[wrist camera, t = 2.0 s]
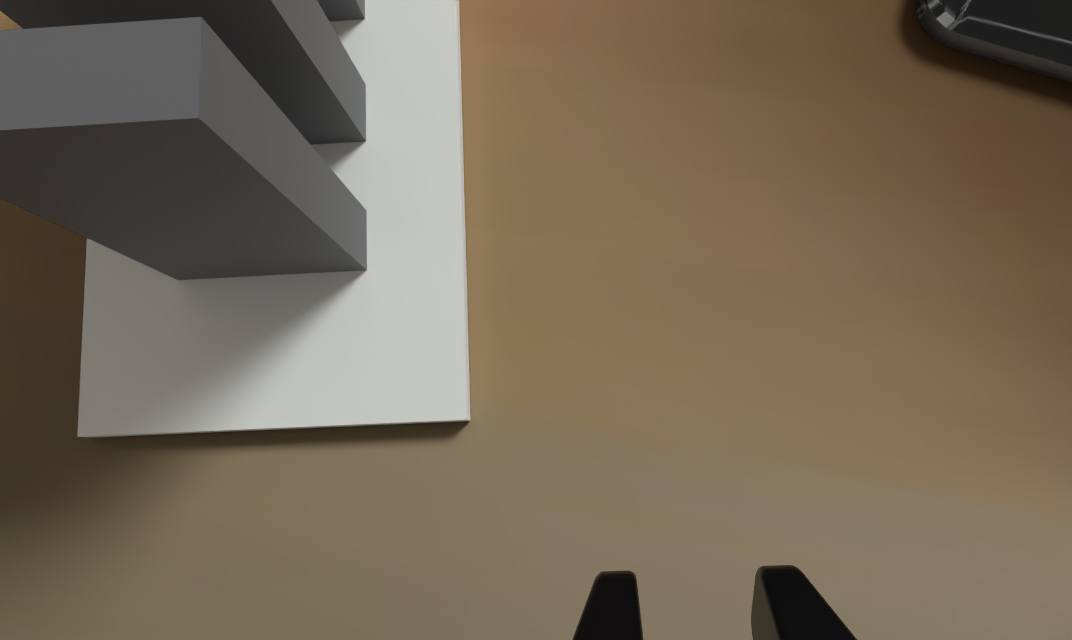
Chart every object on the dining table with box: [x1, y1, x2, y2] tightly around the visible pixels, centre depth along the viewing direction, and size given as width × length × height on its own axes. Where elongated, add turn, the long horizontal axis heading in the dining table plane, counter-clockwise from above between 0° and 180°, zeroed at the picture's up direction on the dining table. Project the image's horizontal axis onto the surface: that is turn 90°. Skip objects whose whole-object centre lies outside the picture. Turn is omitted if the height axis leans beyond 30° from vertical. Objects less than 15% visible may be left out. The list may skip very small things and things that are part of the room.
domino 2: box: [0, 17, 367, 280], centre depth 18 cm, size 2×5×10 cm, turn 93°
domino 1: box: [0, 0, 366, 145], centre depth 19 cm, size 2×5×10 cm, turn 93°
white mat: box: [77, 0, 470, 438], centre depth 24 cm, size 20×10×1 cm, turn 2°
